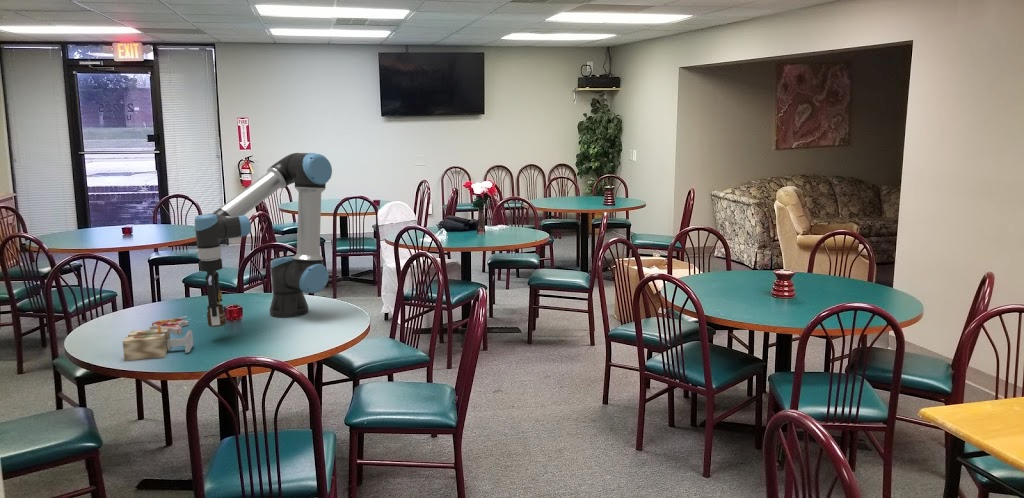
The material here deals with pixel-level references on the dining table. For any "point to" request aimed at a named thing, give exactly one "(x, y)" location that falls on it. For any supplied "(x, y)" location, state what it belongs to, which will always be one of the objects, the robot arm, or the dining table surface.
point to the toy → (171, 325)
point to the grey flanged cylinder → (180, 340)
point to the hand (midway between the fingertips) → (217, 322)
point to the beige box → (146, 344)
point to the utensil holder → (221, 313)
